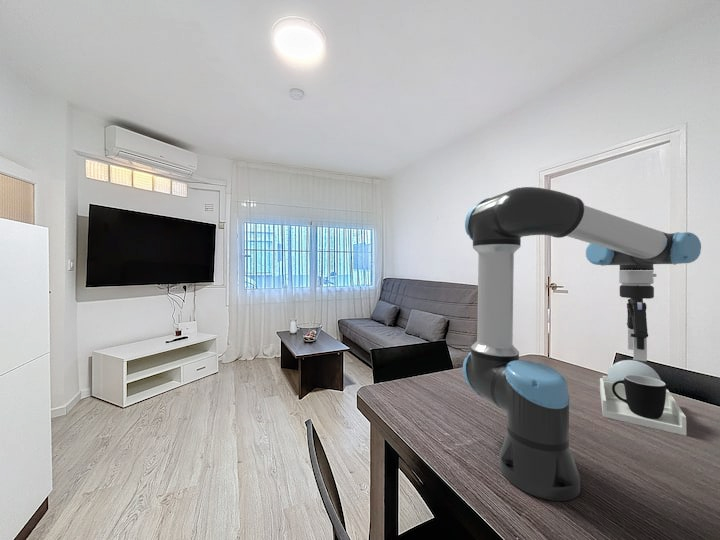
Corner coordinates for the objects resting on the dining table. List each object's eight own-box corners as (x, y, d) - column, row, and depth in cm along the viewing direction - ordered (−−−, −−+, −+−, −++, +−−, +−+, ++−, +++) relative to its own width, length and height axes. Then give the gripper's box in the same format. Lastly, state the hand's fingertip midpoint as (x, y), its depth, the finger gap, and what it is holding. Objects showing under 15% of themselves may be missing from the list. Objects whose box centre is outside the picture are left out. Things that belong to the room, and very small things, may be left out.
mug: (668, 414, 86) (667, 380, 86) (664, 425, 80) (663, 388, 80) (615, 400, 95) (615, 370, 95) (608, 409, 90) (608, 376, 90)
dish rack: (686, 435, 77) (686, 413, 77) (603, 416, 87) (602, 396, 87) (667, 404, 94) (667, 386, 94) (600, 391, 104) (599, 375, 104)
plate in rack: (662, 406, 91) (661, 364, 91) (608, 395, 99) (607, 357, 99) (661, 404, 92) (660, 363, 92) (608, 394, 100) (607, 356, 100)
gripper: (662, 287, 75) (663, 368, 75) (646, 283, 95) (647, 348, 95) (623, 286, 80) (624, 362, 80) (616, 283, 99) (616, 344, 99)
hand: (636, 354), depth 87 cm, fingers open, 13 cm apart
